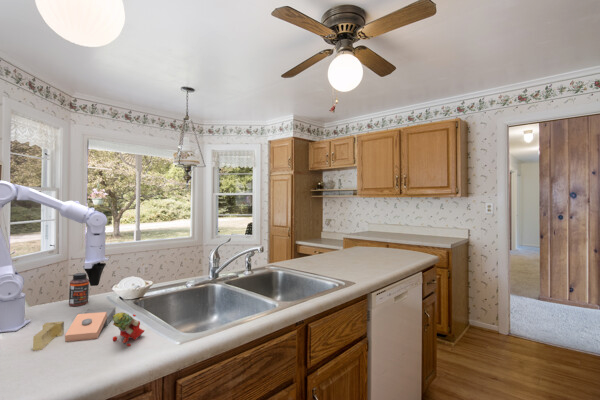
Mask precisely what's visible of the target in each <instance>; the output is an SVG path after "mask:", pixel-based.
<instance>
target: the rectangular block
mask: <svg viewBox="0 0 600 400" xmlns="http://www.w3.org/2000/svg"><path fill="white" fill-rule="evenodd" d="M64 325H65V321H63V320H62V321H51V322H44V324H42V329H41V330H40V331H38V332H37V333H36V334H35V335H33V337H32V338H33V339H32V341H33V342H32V351H33V352H34V351H42V350H43V349H44V348H45V347H46V346H47V345H48V344H49V343H51V342H52V341H53V340H54V339H55V338H56V337H58V338H59V337H62V336H63V335H64V332H65V329H64V328H65V326H64Z"/></svg>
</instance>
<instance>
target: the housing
mask: <svg viewBox="0 0 600 400" xmlns="http://www.w3.org/2000/svg"><path fill="white" fill-rule="evenodd" d="M99 312H107V319H106V321H105V323H104V325H103V327H107V326H108V325H109V324H110V322H111V321H113V316H114V315H115V314H116V306H113V307H101V308H99V307H98V308H88V309H87V310H86V311H85V312H84V313H83V314H86V313H99Z"/></svg>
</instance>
